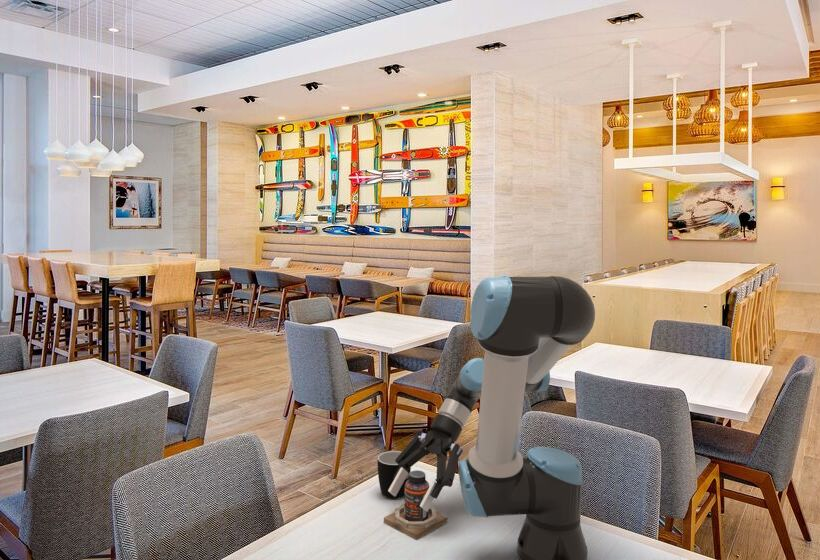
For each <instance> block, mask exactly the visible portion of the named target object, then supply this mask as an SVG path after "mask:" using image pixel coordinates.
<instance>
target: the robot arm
mask: <svg viewBox="0 0 820 560" xmlns="http://www.w3.org/2000/svg"><path fill="white" fill-rule="evenodd" d="M595 318H596V309H595V304H594V302H593V300H592V298H591V295H590V294H589V293H588V291H587V290H586V289H585V288H584V287H583V286H582V285H580V284H579V283H578V282H576V281H575V280H572V279H570V278H567V277H564V276H559V275H558V276H557V275H555V276H553V275H550V276H508V275H502V276H494V277H492V276H491V277H486V278H483V279H482V280H481V281H480V282H479V283H478V285H477V286H476V287H475V290H474V293H473V296H472V301H471V307H470V321H469V322H470V330H471V334H472V335H473V337H474V338H475V339H477V343H478V346H479V347H480V348H481V349H482V350H483V351H484V358H481V357H475V358H472V359H470V360H469V361H467V363H465V364H464V365H463V366H462V368H461V369H460V371H459V373H458V374H457V376H456V378H455V381H454V382H453V384H452V386H451V389H450V390H449V392H448V393H447V396H446V397H445V399H444V401H443V403H442V404H441V406H440V408H439V410H438V414H436V415H435V417H434V418H433V421H432V422H431V424H430V429H429V431H428V432H426V433H424V432H422V431H421V430H417V431H416V433H415V435H414V437H413V438H412V440H411V441H410V442H409V443H408V444H407V446H405V448H404V449H403V450H401V454H400V455H399V456H398V457H397V458H396V459H395V461H396V463H397V464H398V465H399V468H398V470H397V471H396V473H395V475H394V478H393V479H394V481H393V483H392V484H391V486H390V488H389V490H388V492H390V493H391V494H392V495H393V496H395V497H396V495H397V493H398V491H399V489H400V488H401V486H402V484H403V482H404V480H405V478H406V477H407V475H408V471H407V470H408V469H409V468H410V467H411V468H412V467H413V466H414V465H415V464H416V463H418V462H419V461H421V460H422V459H423V458H424V457H425V456H428V455H430V454H432V455H435V456H436V478H435V479H434V480H432V481H431V483H430V484H429V489H428V491H427V493H426V495H425V496H424V498H423V500H422V502H421V504H420V507H421V508H423V509H424V510H425V511H427V512H428V510H429V508H430V506H431V505H432V503H434V500H435V499H438V497H439V495H440V493H441V491H442V489H443V488H444V487H448V488H450V487H452V486H453V485H454V479H455V475H456V472H457V467H458V477H459V478H458V479H459V483H460V490H461V496H462V500H463V505H464V508H465V510H466V512H467V514H468V515H469V516H471V517H474V518H476V517H477V518H490V517H501V516H502V517H505V516H519V515H525V519H524V522H523V524H522V527H521V530H520V531H519V533H518V534H519V535H518V537H517V542H516V544H517V545H516V548H517V549H516V552H517V555H518V557H519V559H520V560H588V553H589V552H588V546H587V544H586V540H585V539H586V538H585V537H584V532H583V529H582V527H581V526H582V525H581V518H582V517H581V515H582V512H581V511H582V496H583V494H582V493H583V483H584V481H583V467H582V464H581V462H580V460H579V459H578V458H577V457H575V456H574V455H572V454H571V453H569V452H567V451H564V450H563V449H558V448H554V447H550V446H533V448H532V447H531V448H530V449H528V451H527V453H526V456H527V457H523V455H522V454H521V453H520V451H518V450H519V449H518V448H519V441H520V439H519V438H520V433H521V432H520V431H521V424H522V417H523V416H522V415H523V409H524V408H523V407H524V399H525V393H536V392H544V391H546V390H548V388H549V386H550V382H551V374H550V373H551V372H550V371H551V370H552V369H553V367H554V366H555V365H556V364H557V363H558V362H559V361H560V359H562V357H563V356H564V355H565V353H567V351H568V350H569V349H570V348H571V347H572V346H575V345H578V344H580V343H582V342H583V341H584V340H585V338H586V337H587V336H588V335H589V334H590V332H591V331H592V329H593V327H594V323H595V320H596V319H595ZM479 398H480V400H479ZM478 400H479V401H480V402H479V413H478V423H477V435H476V442H475V443H476V444H474V445H473V446H472V447H470V449H469V451H468V455H467V459H462V460H460V461H459V459H460V456H461V455H462V453H463V451H464V450H463V448H462V447H461V446H460V445H459V444H458V443H456V444H455V442H457V440H458V439H459V437H460V435H461V433H462V431H463V427H465V426H466V423H467V421H468V420H469V418H470V416H471V414H472V411H473V409H474V408H475V406H476V404H477V403H478ZM449 451H450V453H449ZM448 453H449V457H448ZM431 507H432V506H431Z"/></svg>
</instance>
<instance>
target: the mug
mask: <svg viewBox="0 0 820 560" xmlns="http://www.w3.org/2000/svg"><path fill="white" fill-rule="evenodd" d="M401 452H402V450H401V451H399V450H388V451H385V452H382V453H380V454H379V455H378V457H377V473H378V475H377V476H378V484H379V488H380V492H381V494H382V495H383V497H384V498H387V499H389V498H390V500H397V499H398V498H399V499H402V498H403V496H404V497H405V483H406V482H407V480H409V473H410V472H411V471H412V469H411V468H412V466H411V467H410V468H409V469H408V470H407V471H408V475H407V477H406V478H405V480H404V482H403V484H402V486H401V488H400V489H399V491H398V493H397V495H396V497H395V496H393V495H392V494H391V493H390V492H388V490H389V488H390V486H391V484H392V483H393V481H394V479H393V478H394V475H395V473H396V471H397V470H398V468H399V465H398V464H397V463H396V461H395V459H396V458H397V457H398V456H399V455H400V454H401ZM401 497H402V498H401ZM399 499H398V500H399Z"/></svg>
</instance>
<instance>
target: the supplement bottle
mask: <svg viewBox="0 0 820 560" xmlns="http://www.w3.org/2000/svg"><path fill="white" fill-rule="evenodd" d="M429 487H430V484H429V482H428V481H427V480H426V472H424V471H422V470H416V469H415V470H411V471H410V473H409V480H407V482H406V483H405V496H404V504H405V511H404V514H405V518H406V519H407V520H408V521H410V522H417V521H425V520H427V519H428V515H429V510H428V512H427V511H425V510H424V509H423V508H421V507H420V504H421V502H422V500H423V498H424V496H425V495H426V493H427V491H428V489H429Z"/></svg>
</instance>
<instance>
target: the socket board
mask: <svg viewBox="0 0 820 560" xmlns="http://www.w3.org/2000/svg"><path fill="white" fill-rule="evenodd" d="M394 510H395V511H394V512H393V513H390V514H389V515H387V516H384V517H383V523H384V524H386V525H387V526H390V527H392V528H394V530H395V529H396V531H400V532H401V533H403V534H405V535H407V536H408V537H410V538H411V539H412V538H413V539H415V540H416V539H418V540H419V539H421V538H422V536H423V537H424V536H426V535H427V534H430V533H431V532H433V531H435V530H436V529H438V528H440V527H442V526H443V525H445V524H447V523H448V516H446V515H443V514H442V513H439V512H437V510H436V507H434V506H430V508H429V515H428V519H427V520H425V521H417V522H410V521H408V520H407V519H406V518H405V514H404V511H405V503H404V504H402V505H400V506H398V507H396V508H395V509H394Z"/></svg>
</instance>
